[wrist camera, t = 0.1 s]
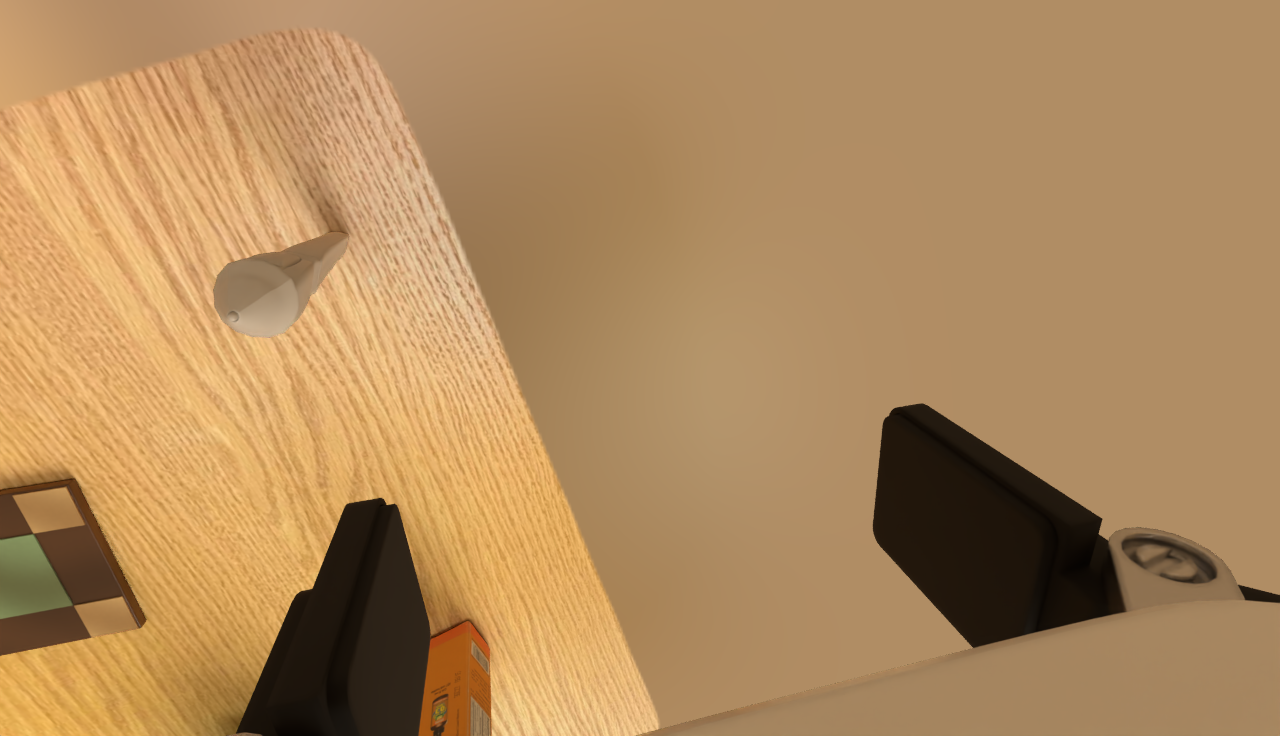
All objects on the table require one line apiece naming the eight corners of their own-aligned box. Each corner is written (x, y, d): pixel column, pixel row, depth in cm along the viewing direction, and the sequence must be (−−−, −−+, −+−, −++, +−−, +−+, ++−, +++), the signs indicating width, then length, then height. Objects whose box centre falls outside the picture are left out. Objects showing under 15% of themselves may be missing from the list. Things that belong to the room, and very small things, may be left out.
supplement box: (450, 670, 42) (438, 818, 33) (425, 638, 41) (405, 784, 32) (494, 649, 42) (493, 791, 33) (471, 616, 41) (463, 756, 32)
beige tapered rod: (309, 257, 31) (178, 350, 18) (317, 206, 30) (185, 264, 17) (362, 270, 31) (272, 367, 19) (371, 220, 31) (282, 285, 18)
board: (-151, 513, 30) (-165, 521, 30) (75, 478, 32) (66, 485, 32) (-50, 659, 34) (-61, 669, 34) (147, 620, 36) (140, 629, 35)
